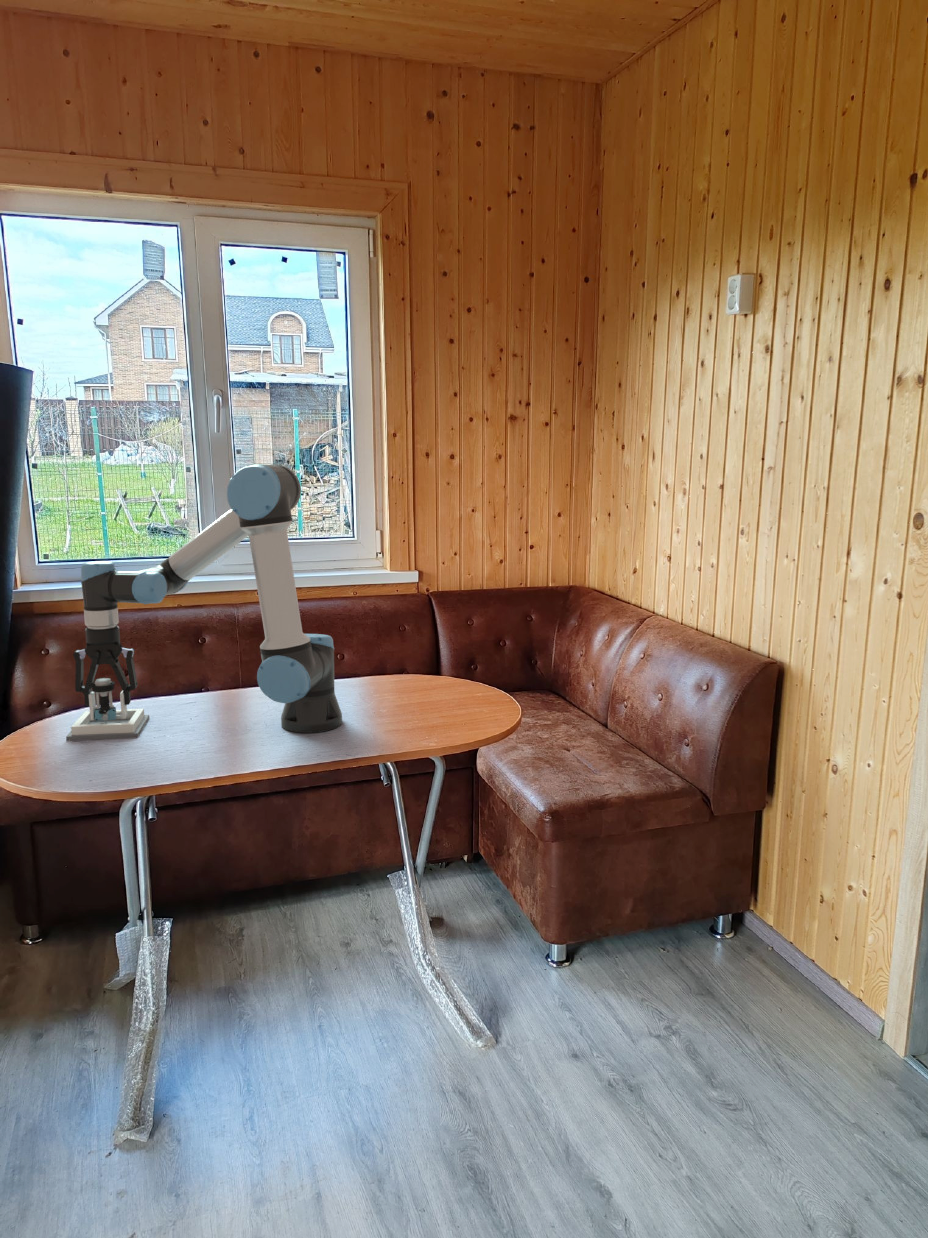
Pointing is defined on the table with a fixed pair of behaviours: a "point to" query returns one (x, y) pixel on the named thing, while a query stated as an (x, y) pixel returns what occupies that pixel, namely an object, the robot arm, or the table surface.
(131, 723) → the socket plate
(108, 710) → the push button
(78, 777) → the table surface
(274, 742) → the table surface
